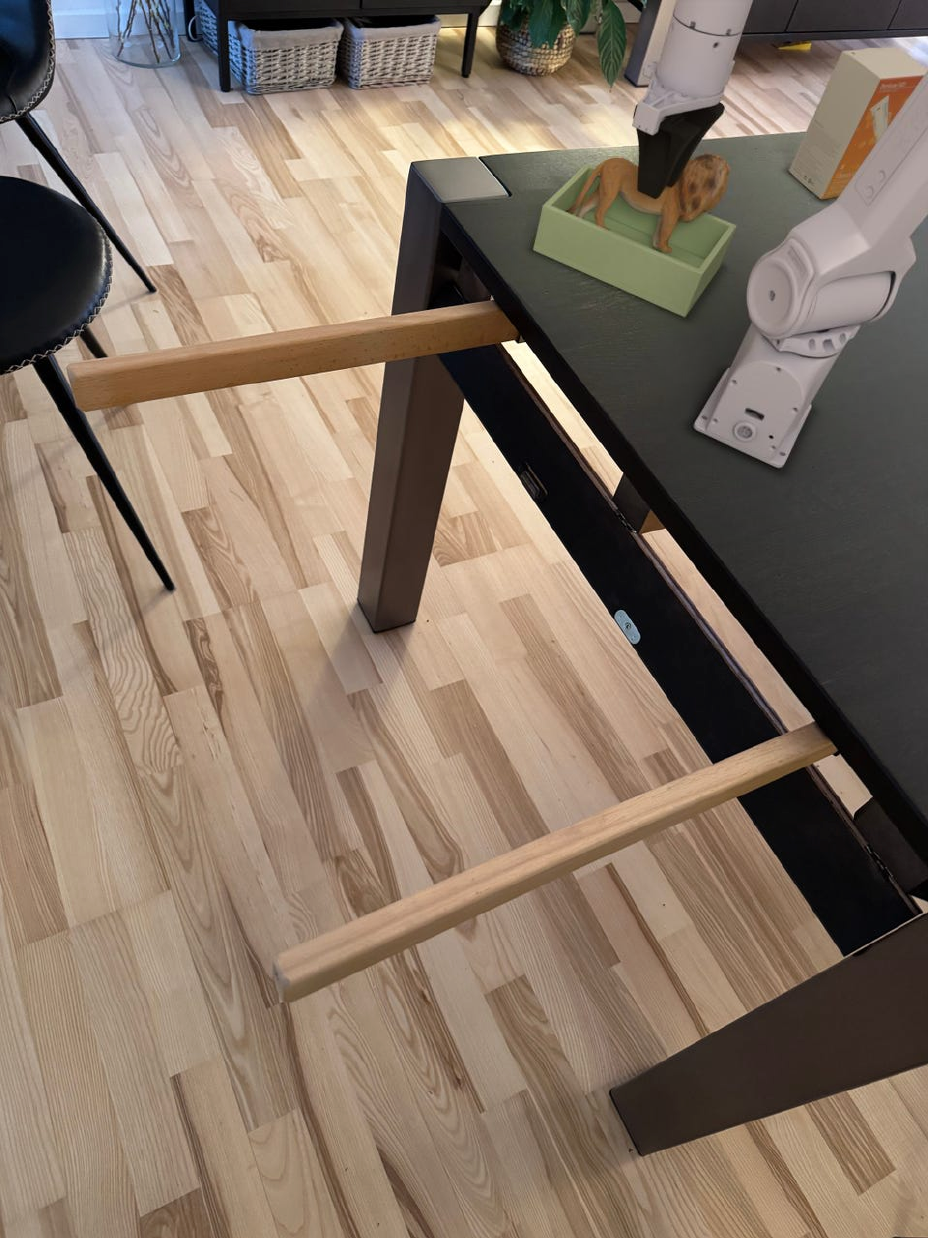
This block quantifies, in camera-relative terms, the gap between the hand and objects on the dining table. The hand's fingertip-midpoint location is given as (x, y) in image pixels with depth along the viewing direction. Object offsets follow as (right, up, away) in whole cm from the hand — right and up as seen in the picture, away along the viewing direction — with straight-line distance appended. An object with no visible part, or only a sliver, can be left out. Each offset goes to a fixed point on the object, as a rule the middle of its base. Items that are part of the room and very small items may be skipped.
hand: (655, 187), depth 81 cm
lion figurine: (-1, -3, +6) cm, 7 cm away
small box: (+25, +11, +22) cm, 35 cm away
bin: (-1, -4, +7) cm, 8 cm away
